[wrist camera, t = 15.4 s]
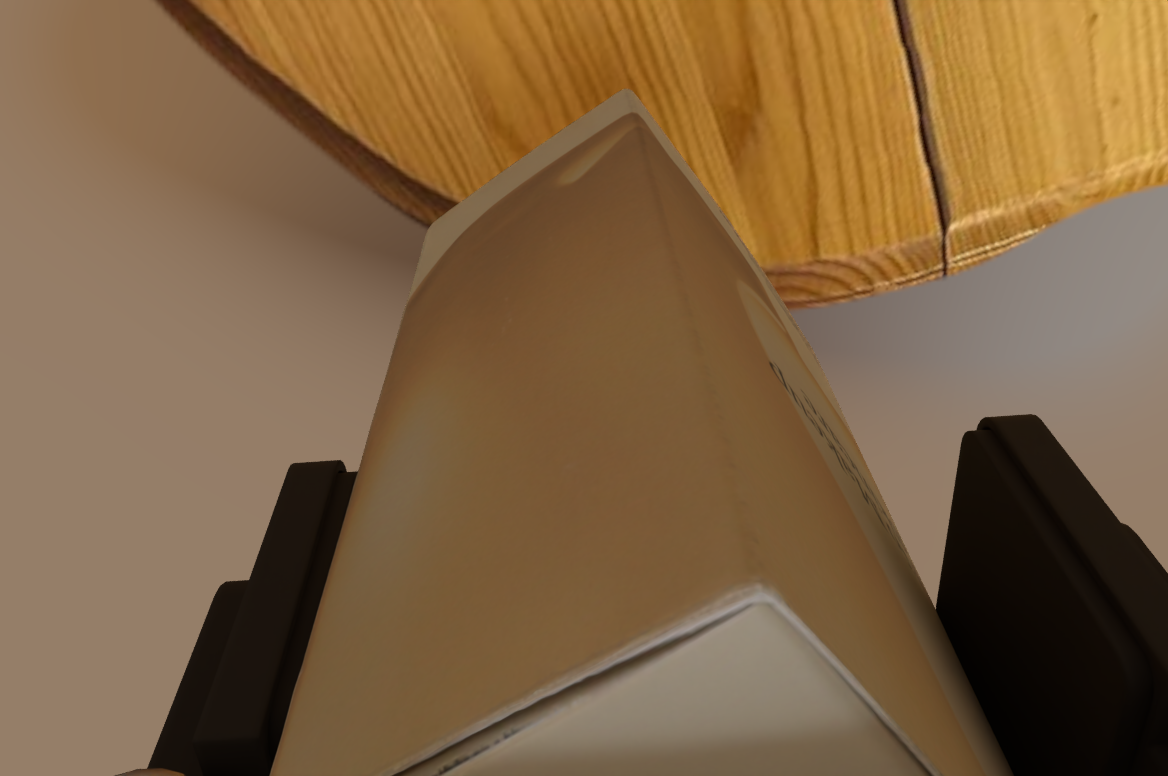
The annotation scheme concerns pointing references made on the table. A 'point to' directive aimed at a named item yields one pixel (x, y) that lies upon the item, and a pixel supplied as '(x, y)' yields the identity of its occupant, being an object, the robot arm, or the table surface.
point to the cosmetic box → (617, 513)
